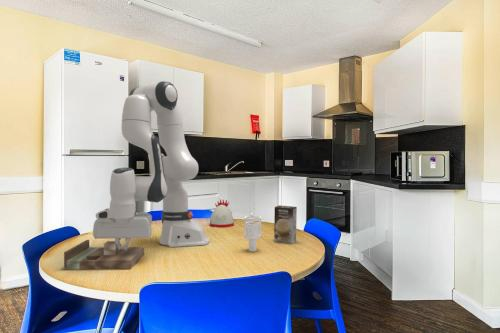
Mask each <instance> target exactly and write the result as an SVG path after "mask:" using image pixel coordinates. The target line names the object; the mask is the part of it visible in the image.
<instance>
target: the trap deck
mask: <svg viewBox="0 0 500 333" xmlns="http://www.w3.org/2000/svg"><path fill="white" fill-rule="evenodd" d="M144 255H145V246H128V249H127V251H119V252H118V253H117V254H116V255H104V246H103V247H101V246H99V247H90V239H86V240H84V241H82V242H81V243H78V244H75V246H73V247H71V248H69V249H67V250H65V251H64V252H63V270H64V271H79V270H80V271H81V270H82V271H84V270H85V271H87V270H88V271H89V270H91V271H92V270H94V271H95V270H97V271H98V270H132V268H133V267H134V266H135V265H136V264H137V263H138V262H139V261H140V260H141V259H142V258H143V256H144Z"/></svg>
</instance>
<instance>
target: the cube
mask: <svg viewBox="0 0 500 333" xmlns="http://www.w3.org/2000/svg"><path fill="white" fill-rule="evenodd" d="M103 247H104V255H116V254H117V253H118V252H119V251H118V245H117V244H116V242H115V240H113V241H112V240H109V241H106V242H104V243H103Z"/></svg>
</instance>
